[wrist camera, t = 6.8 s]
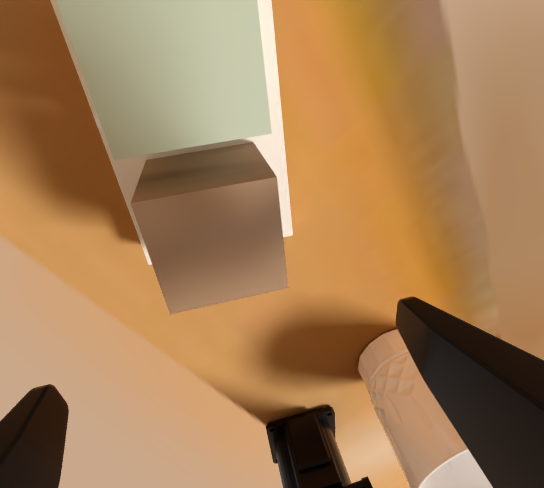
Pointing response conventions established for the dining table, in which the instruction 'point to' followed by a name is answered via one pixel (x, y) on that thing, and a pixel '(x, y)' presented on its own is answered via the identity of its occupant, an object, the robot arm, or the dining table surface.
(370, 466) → the dining table surface
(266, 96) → the l-shaped block
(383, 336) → the white cup
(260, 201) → the walnut cube
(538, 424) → the robot arm
